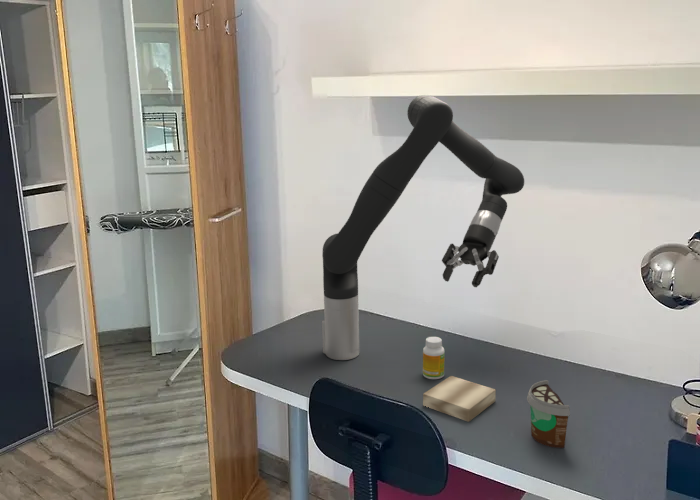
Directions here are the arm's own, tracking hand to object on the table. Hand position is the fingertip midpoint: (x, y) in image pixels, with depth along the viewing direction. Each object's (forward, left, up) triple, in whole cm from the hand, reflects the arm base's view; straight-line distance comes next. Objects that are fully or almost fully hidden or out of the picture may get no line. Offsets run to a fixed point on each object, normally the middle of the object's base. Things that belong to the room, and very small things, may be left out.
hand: (459, 282), depth 172 cm
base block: (+13, -21, -22) cm, 33 cm away
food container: (+34, -23, -22) cm, 46 cm away
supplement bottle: (0, -12, -22) cm, 25 cm away
